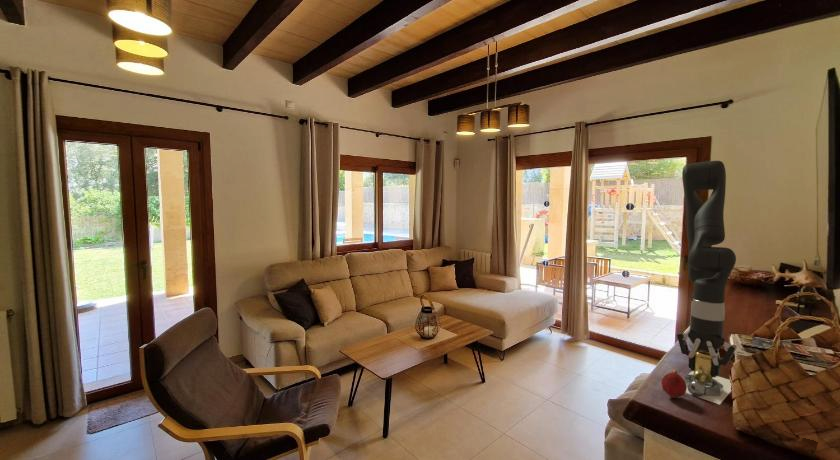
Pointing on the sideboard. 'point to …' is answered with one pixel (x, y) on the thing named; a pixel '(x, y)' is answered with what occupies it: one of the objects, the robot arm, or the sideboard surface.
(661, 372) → the sideboard surface
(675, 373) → the onion
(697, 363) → the knob
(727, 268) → the robot arm
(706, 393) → the grey octagonal ring
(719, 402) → the board
